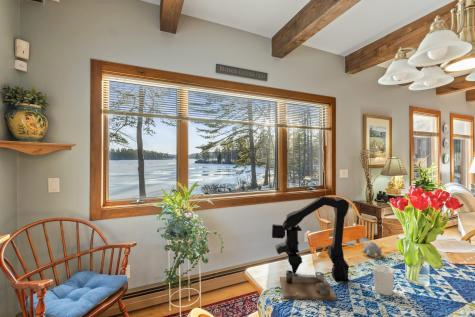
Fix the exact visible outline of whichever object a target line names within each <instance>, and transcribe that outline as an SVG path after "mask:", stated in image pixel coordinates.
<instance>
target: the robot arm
mask: <svg viewBox="0 0 475 317" xmlns="http://www.w3.org/2000/svg"><path fill="white" fill-rule="evenodd" d="M323 206H327V207H330V208H333V211H334V212H333V213H334V221H333V222H334V223H333V234H332V243H331V245H328V246H327V252H326V253H327V255H328V257H329V259H330V261H331V263H332V268H331V277H332V278H333V279H334V280H335V282H338V283H339V282H341V283H350V279H349V268H350V265H349V264H348V262H347V261H346V260H345V257H344V250H343V240H344V239H343V237H344V228H345V227H344V226H345V218H346V216H347V214H348V213H349V212H348V211H349V208H350V204H349V202H348V201H347V200H346V199H344V198H342V197H336V198H335V197H328V196H324V195H321V196H319V197H318V198H316V199H315V200H313V201H311V202H310V203H308V204H307V205H305V206H304V207H302V208H301V209H298V210H294V211H292V212H289V213H287V215H286V217H285V220H284V221H283V222H282V224H276V223H274V224H272V225H271V226H272V229H271V238H272V239H285V237H286V239H285V241H284V242H280V243H278V244H276V245H275V249H276V253H277V255H281V254H283V253H285V254H287V261H288V264H289V266H291V271H292V272H293V274H296V273H297V271H298V269H299V267H300V266H301V265H302V263H303V258H302V256H301V254H299V253H300V250H299V245H300V242H299V232H302V231H303V230H302V227H301V226H299V224H300V223H301V222H302V221H303V220H304V219H305V218H306V217H307V216H309V215H311V214H312V213H314V212H316V211H317V210H319V209H320V208H322V207H323Z"/></svg>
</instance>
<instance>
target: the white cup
mask: <svg viewBox="0 0 475 317" xmlns="http://www.w3.org/2000/svg"><path fill="white" fill-rule="evenodd" d="M372 271H373V272H372V273H373V283H374V284H373V285H374V290H375V292H377V293H378V294H381V295H384V296H392V295H393V293H394V292H393V289H394V279H395V278H394V277H395V276H394V275H395V270H394V268H391V267H390V266H387V265H384V264H375V265H373V266H372Z"/></svg>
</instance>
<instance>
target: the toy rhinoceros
mask: <svg viewBox="0 0 475 317" xmlns="http://www.w3.org/2000/svg"><path fill="white" fill-rule="evenodd" d="M382 249H383V248H382V247H380V246H379V245H377V243H375V242H373V241H366V242H365V243H364V246H363V248H362V250H361V253H362V254H365V255H367V256H370V257H371V258H375V256H376V255H377V256H382V252H383V250H382Z"/></svg>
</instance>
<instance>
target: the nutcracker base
mask: <svg viewBox="0 0 475 317" xmlns="http://www.w3.org/2000/svg"><path fill="white" fill-rule="evenodd" d="M279 283H280V286H281V290H282V297H283V299H287V300H288V299H290V300H292V299H294V300H318V301H319V300H321V301H323V300H324V301H338V296H337V295H336V293H335V291H334V290H333V288H332V287H331V284H330V283H329V282H328V280H327V278H326V277H324V283H320V282H319V283H287V282H286V276H279Z"/></svg>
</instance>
